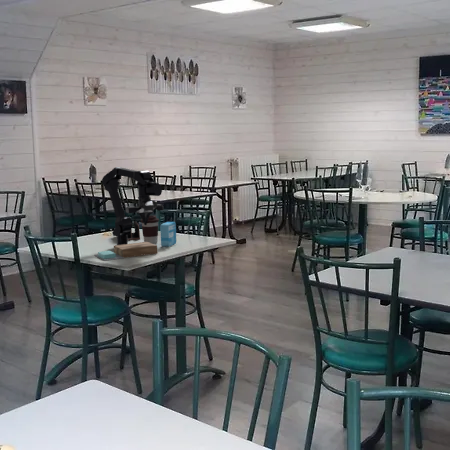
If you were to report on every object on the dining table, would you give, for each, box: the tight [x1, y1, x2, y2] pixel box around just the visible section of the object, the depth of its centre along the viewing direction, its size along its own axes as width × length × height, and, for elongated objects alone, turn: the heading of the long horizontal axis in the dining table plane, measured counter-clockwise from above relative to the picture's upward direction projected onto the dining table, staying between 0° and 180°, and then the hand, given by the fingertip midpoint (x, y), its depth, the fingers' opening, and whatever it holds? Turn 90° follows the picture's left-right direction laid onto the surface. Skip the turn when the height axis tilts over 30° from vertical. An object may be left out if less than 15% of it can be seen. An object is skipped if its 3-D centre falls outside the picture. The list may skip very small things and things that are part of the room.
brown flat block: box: [113, 241, 159, 259], centre depth 304 cm, size 14×18×4 cm
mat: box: [94, 253, 125, 262], centre depth 298 cm, size 16×10×1 cm, turn 29°
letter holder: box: [127, 221, 141, 241], centre depth 352 cm, size 10×20×14 cm, turn 16°
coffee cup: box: [140, 215, 160, 245], centre depth 330 cm, size 10×10×15 cm
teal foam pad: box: [97, 250, 116, 259], centre depth 296 cm, size 9×6×2 cm, turn 30°
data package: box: [159, 221, 177, 248], centre depth 324 cm, size 12×4×12 cm, turn 165°
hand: (145, 225), depth 312 cm, fingers closed
